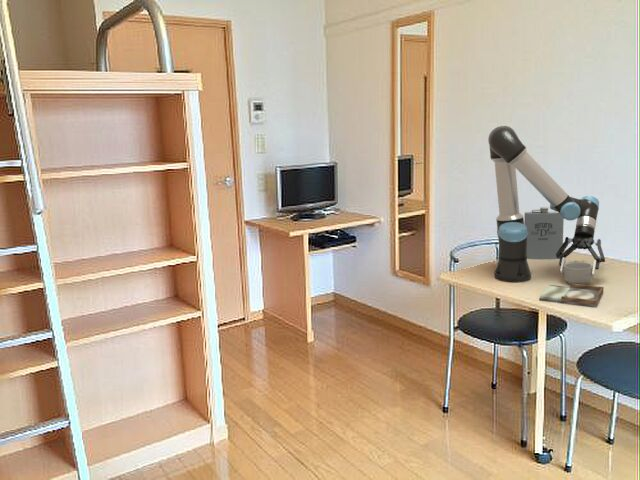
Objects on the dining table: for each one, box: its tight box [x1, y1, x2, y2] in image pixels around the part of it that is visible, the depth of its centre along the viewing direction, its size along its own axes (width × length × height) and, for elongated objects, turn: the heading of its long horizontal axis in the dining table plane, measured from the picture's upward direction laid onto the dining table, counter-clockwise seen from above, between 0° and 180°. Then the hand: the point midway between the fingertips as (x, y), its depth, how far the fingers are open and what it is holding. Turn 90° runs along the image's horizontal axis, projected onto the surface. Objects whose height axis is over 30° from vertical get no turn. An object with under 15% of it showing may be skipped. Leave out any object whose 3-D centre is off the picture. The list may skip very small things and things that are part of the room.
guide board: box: [538, 283, 604, 308], centre depth 221 cm, size 20×18×2 cm
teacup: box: [563, 260, 593, 285], centre depth 237 cm, size 14×11×8 cm
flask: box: [524, 206, 565, 260], centre depth 272 cm, size 17×5×25 cm, turn 74°
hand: (577, 273), depth 234 cm, fingers open, 11 cm apart
